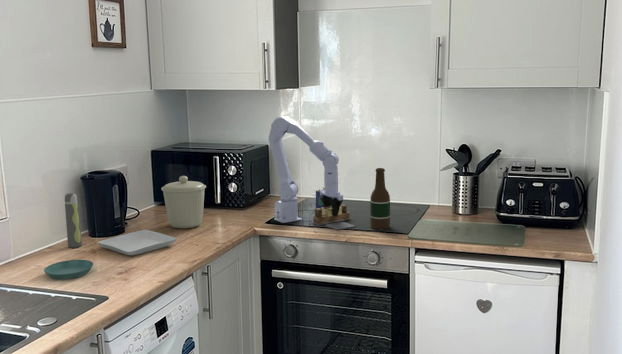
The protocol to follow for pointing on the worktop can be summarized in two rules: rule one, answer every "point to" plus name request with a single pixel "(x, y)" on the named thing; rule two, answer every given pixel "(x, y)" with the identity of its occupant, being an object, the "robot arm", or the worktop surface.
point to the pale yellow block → (329, 211)
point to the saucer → (68, 269)
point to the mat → (340, 225)
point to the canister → (184, 202)
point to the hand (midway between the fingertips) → (331, 214)
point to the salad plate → (137, 242)
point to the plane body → (323, 219)
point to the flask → (318, 200)
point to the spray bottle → (72, 221)
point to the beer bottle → (380, 203)
